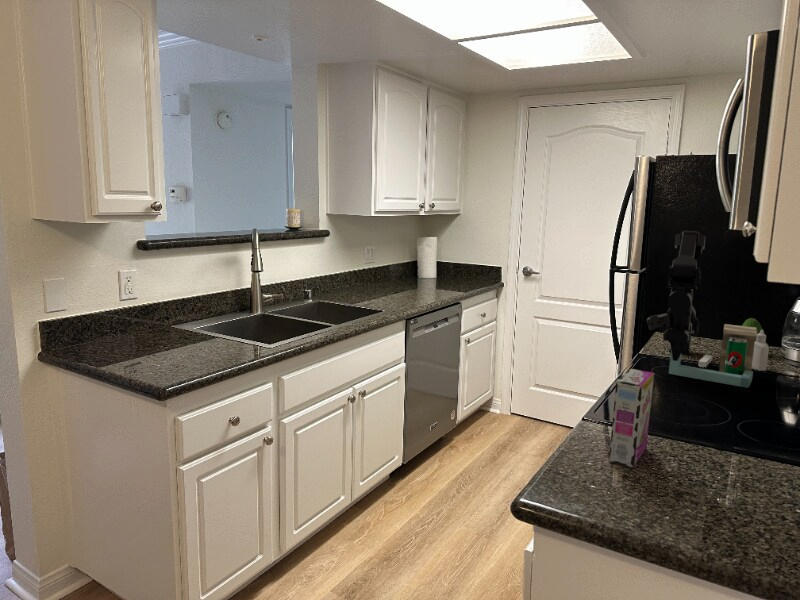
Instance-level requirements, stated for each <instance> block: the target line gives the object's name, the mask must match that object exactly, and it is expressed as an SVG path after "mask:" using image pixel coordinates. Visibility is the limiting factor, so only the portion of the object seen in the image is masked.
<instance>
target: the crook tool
mask: <svg viewBox="0 0 800 600" xmlns="http://www.w3.org/2000/svg"><path fill="white" fill-rule="evenodd" d="M681 360H682V354H681V355H680V357H679V358H678V360H677V361H674V360H673V357H672V350H671V352H670V359H669V369H668V374H670V375H674V376H680V377H685V378H691V379H697V380H702V381H708V382H712V383H713V382H714V383H718V384H725V385H731V386H734V387H736V386H737V387H742V388H746V389H748V388H749V387H750V386H751V383H752V381H753V376H754V375H753V374H754V371H752V370H751V371H747V370H745V371H744V373H743V375H736V374H730V373H724V372H719V370H718V371H717V370H712V369H706V368H702V367H695V366H688V365H683V364H681V362H682V361H681Z"/></svg>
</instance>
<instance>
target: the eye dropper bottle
mask: <svg viewBox="0 0 800 600" xmlns="http://www.w3.org/2000/svg"><path fill="white" fill-rule="evenodd" d="M766 340H767V335H766V334H765V332H764V329H762V330H761V331H760V333H759V334H757V338H756V341H755V344H754V352H753V360H752V369H751V370H755V371H757V370H758V371H757V372H766V371H767V368H768V359H769V350H770V349H769V348H770V347H769V344H768V343H767V342H766Z"/></svg>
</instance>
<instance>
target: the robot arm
mask: <svg viewBox="0 0 800 600" xmlns="http://www.w3.org/2000/svg"><path fill="white" fill-rule="evenodd" d="M674 241H675V242H674V248H675V249H676V255H677V257H676V258H673V260H672V263H671V264H672V265H670V266H669V267H668V274H667V280H666V282H667V283H666V288H669V289H670V288H671V289H670V294H669V296H668V298H667V305H668V310H667V312H665V313H661V314H654V315H650V316H649V317H647V319H646V323H647V324H646V325H647V326H648V329H649V330H650V331H651V330H655V329H659V328H663V327H665V329H666V330H664V331H663V337H662V340H663V341H666V342H669V344H670V348H669V349H668V352H669V353H671V350H672V357H673V360H674V361H677V360H678V358H679V357H680V355H681V356H682V354H684V355H691V354H692V350H693V349H692V348H691V346H692V345H691V343H692V337H697V336H699V330H700V322H699V320H698V317H696V311H697V310H695V307H694V306H693V297H694V290H697V289H698V287H700V286H701V285H700V284H701V279H702V278H701V276H702V271H701V269H700V267H697V266H698V259H700V257H701V256H702V253H703V250H705V246H706V235H704V234H701V233H700V231H697V230H696V231H695V230H694V231H693V230H683V231H681V232H680V233H677V234H675V240H674Z"/></svg>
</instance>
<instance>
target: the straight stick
mask: <svg viewBox="0 0 800 600" xmlns="http://www.w3.org/2000/svg"><path fill="white" fill-rule="evenodd" d="M711 361H713V355H710V354H705V355H703V356H702V357H701V358H700V359H699V360H698V366H699V367H698V366H697V367H698V368H704V367H705V368H704V369H706V368H707V367H708V366H709V365H710V364H711V363H712V362H711ZM710 362H711V363H710ZM709 363H710V364H709ZM708 364H709V365H708Z"/></svg>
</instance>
